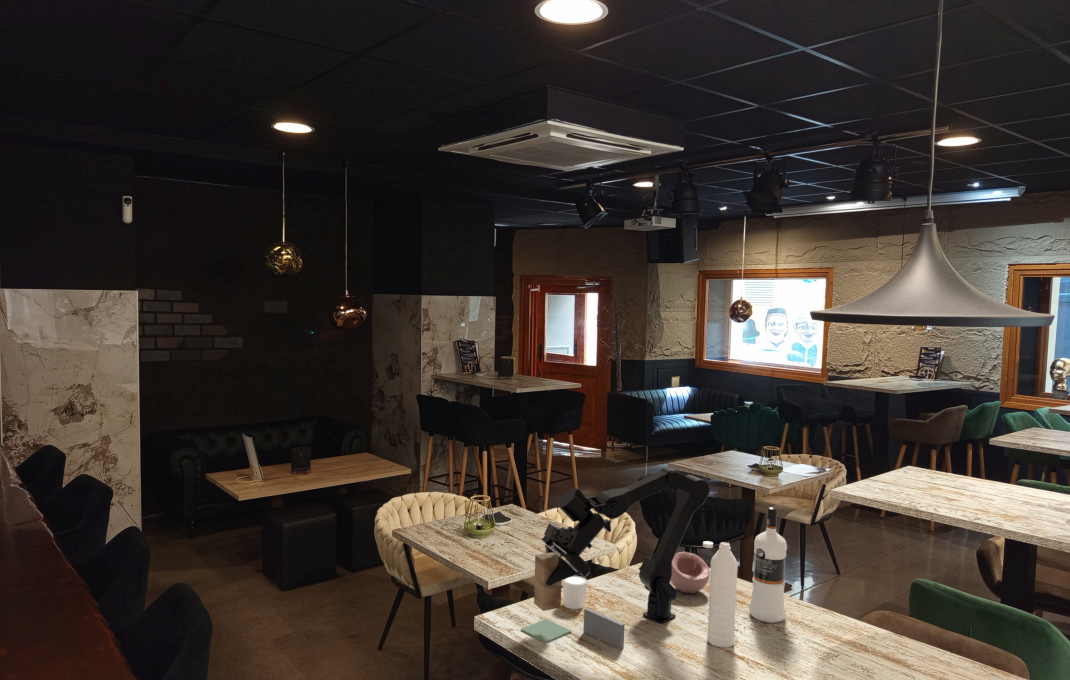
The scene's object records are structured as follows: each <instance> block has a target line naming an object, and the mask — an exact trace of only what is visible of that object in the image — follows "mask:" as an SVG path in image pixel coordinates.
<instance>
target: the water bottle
mask: <svg viewBox="0 0 1070 680" xmlns="http://www.w3.org/2000/svg"><path fill="white" fill-rule="evenodd" d="M702 547H704V548H706V549H712V548H714V542H713V541H709V540H707V541H706V540H705V541H703V542H702ZM718 547H719V549H718V550H717V551H716V552H715V554H714V555H713V556H712V557H711V560H710V570H709V571H710V576H709V579H710V580H709V592H708V593H709V594H708V617H707V621H708V623H707V634H706V635H707V636H706V638H707V639H706V640H707V642H708V643H709V644H710V645H712V646H713V647H717V648H730V647H733V646H734V644H735V631H736V630H735V629H736V627H735V625H736V624H735V623H736V617H735V616H736V608H737V605H736V603H737V583H738V570H739V569H738V561H737V559H736V557H735V555H734V554H733V552H732V551H731V544H730V542H725V541H723V542H720V543H719V546H718Z"/></svg>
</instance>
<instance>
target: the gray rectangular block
mask: <svg viewBox="0 0 1070 680" xmlns="http://www.w3.org/2000/svg"><path fill="white" fill-rule="evenodd" d="M583 610H584V611H583V633H584V634H586V633H587V634H586V635H588V634H589V635H588V636H590V635H591V636H590V637H592V636H594V637H593V638H595V637H596V638H595V639H597V638H598V639H597V640H599V639H600V640H599V641H601V640H602V641H601V642H603V641H604V642H603V643H605V642H606V643H605V644H607V643H608V645H610V646H612V647H614V648H616V649H618V650H622V649H624V648H625V626H626V623H623V622H621V621H619V620H617V619H615V618H612V617H610V616H607V615H605V614H604V613H603V614H602V613H600V612H598V611H596V610H594V609H591V608H589V607H586V608H584V609H583Z"/></svg>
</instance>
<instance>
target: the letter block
mask: <svg viewBox="0 0 1070 680" xmlns="http://www.w3.org/2000/svg"><path fill="white" fill-rule="evenodd" d="M558 564H559V556H558V555H556V554H555V553H553V552H551V553H546V552H545V553H538V554H534V585H533V587H534V590H533V594H534V595H533V604H534V605H535V606H537V608H539V609H540V610H541V611H543V612H544V611H551V610H557V609H559V608H562V583H563V580H561V581H559V582H557V583H555V584H552V585H550V586H548V585H547V584H546V582H547V580H548V579H549V577H550V576H551V574H552V573H553V572H554V570H555V569H556V568H557V566H558Z"/></svg>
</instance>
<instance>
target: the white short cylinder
mask: <svg viewBox="0 0 1070 680" xmlns="http://www.w3.org/2000/svg"><path fill="white" fill-rule="evenodd" d="M587 586H588V580H587V578H585V577H584V576H579V575H574V576H572V577H569V578H566V579H564V580H562V591H563V595H562V596H563V606H564V607H565V608H567V609H571V610H580V609H583V608H584V607H585V603H586V602H585V601H586V594H587Z"/></svg>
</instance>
